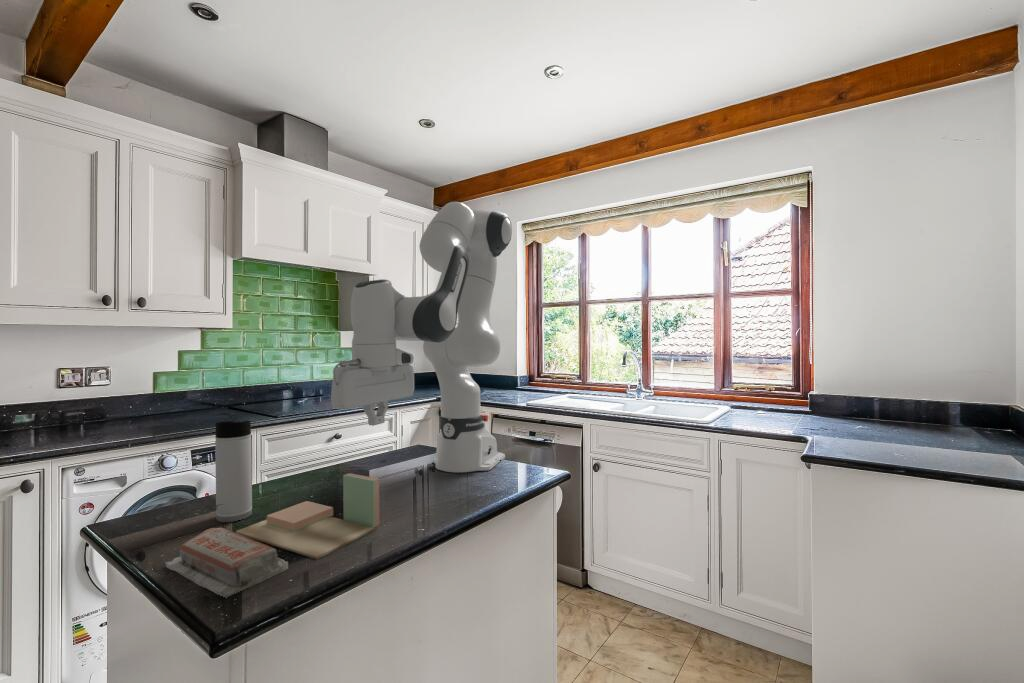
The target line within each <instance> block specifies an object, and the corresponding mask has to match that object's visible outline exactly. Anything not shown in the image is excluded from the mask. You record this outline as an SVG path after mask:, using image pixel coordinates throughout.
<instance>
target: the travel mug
mask: <svg viewBox="0 0 1024 683" xmlns="http://www.w3.org/2000/svg"><path fill="white" fill-rule="evenodd" d="M251 424H252V420H243V421H235V420H222V421H217V422H216V421H215V437H214V439H215V445H214V446H215V448H214V450H215V454H214V455H215V512H216V514H215V518H216V521H217V522H219V523H225V522H226V523H235V522H239V521H238V520H240V521H243V520H245V519H247V518H249V517H250V516H252V514H253V489H252V488H253V487H252V486H253V484H252V483H253V482H252V481H253V479H252V478H253V476H252V471H253V470H252V463H253V462H252V437H251V436H252V431H251V429H252V425H251ZM242 519H243V520H242ZM234 521H235V522H234Z"/></svg>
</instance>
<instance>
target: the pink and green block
mask: <svg viewBox="0 0 1024 683" xmlns="http://www.w3.org/2000/svg"><path fill="white" fill-rule="evenodd" d="M342 479H343V480H342V482H343V483H342V490H343V492H342V495H343V497H342V501H343V505H342V506H343V510H342V511H343V520H345V521H349V522H353V523H357V524H361V525H365V526H369V527H373V528H376V527H378V526H380V478H377V477H371V476H367V475H360V474H355V473H351V472H350V473H346V474H343V475H342Z"/></svg>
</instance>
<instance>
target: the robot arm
mask: <svg viewBox="0 0 1024 683" xmlns="http://www.w3.org/2000/svg"><path fill="white" fill-rule="evenodd" d="M512 232H513V226H512V222H511V220H510V217H509V215H507V213H504V212H501V211H497V210H492V211H489V210H482V209H480V210H479V209H471V208H470V207H469V206H468V205H466V204H465V203H463V202H459V201H450V202H448V203H446V204H445V205H444V206H443V207H442V208H440V209H439V211H438V212H437V213H436V214H435V215H434V216H433V218H432V220H430V222H429V223H428V225H427V227H426V228H425V230H424V232H423V234H422V236H421V239H420V242H419V250H420V252H419V253H420V255H421V257H422V259H423V261H424V262H425V263H426V264H427V265H428V266H429V267H430V268H432V269H433V270H435V271H437V272H439V273H441V274H440V276H439V279H438V282H437V285H436V288H435V290H434V291H432V292H430V293H428V294H426V295H423V296H405V295H403V294H402V293H400V292H399V291H397V290H396V288H394V286H393V283H392V281H391V280H388V279H385V278H384V279H374V280H365V281H361V282H358V283H356V284H355V285H354V287H353V288H352V294H351V299H350V323H351V324H350V325H351V327H352V330H353V335H352V336H353V337H352V340H351V357H352V358H351V359H350V360H340V361H339V362H338V363H337V364H336V365H335V366H334V368H333V370H332V377H333V378H332V381H331V391H330V403H331V406H332V407H333V409H336V410H345V411H346V410H350V409H355V408H360V407H362V409H363V412H364V413H365V415H366V416H367V423H368V425H369V426H373V427H374V426H378V425H382V424H384V423H385V420H386V419H385V415H386V413H387V410H388V409H389V401H393V400H399V399H403V398H408V397H412V395H413V394H414V391H415V371H414V367H413V366H412V365H411V364H413V363H414V355H413V354H412V353H411V352H407V351H405V350H402V349H400V348H397V341H407V342H410V341H411V342H419V341H420V342H421V341H422V342H423V343H422V344H423V345H422V347H423V348H422V349H423V353H424V356H425V357H426V359H427V360H428V361H430V363H431V365H432V366H433V369H434V372H435V374H436V377H437V380H438V383H439V384H438V385H439V389H440V390H439V391H440V416H439V421H438V424H439V430H440V432H439V433H438V434H437V439H436V449H435V450H436V451H435V453H436V454H435V457H434V458H433V461H432V462H433V463H434V464H435V466H434V467H435V469H437V470H440V471H442V472H446V473H447V472H448V473H470V472H478V471H481V472H482V471H491V469H493V468H494V467H495V466H496V465H498V464H499V463H501V461H503V460H504V459H505V458H506V454H505V453H502V452H500V451H498V443H497V439H496V437H495V436H494V435H493V434H492V433H490V432H489V431H488V430H487V428H485V423H486V422H488V421H489V415H488V414H484V413H482V414H481V388H480V385H479V384H478V383H477V382H476V381H475V380H474V379H473V377H472V375H471V374H470V370H469V368H480V367H485V366H488V365H492V364H494V363H495V362H496V361H497V359H498V357H499V356H500V351H501V341H500V339H499V336H498V335H497V333H496V332H495V331H494V330H493V328H492V325H491V317H490V311H491V310H490V309H491V305H492V304H491V303H492V298H493V295H494V294H493V292H494V288H495V285H496V278H497V267H498V265H497V264H498V260H497V257H499V256H501V254H502V252H503V251H505V249H506V248H507V247H508V246H509V244H510V242H511V240H512V234H513V233H512ZM457 322H458V323H457ZM456 324H457V326H456ZM376 407H377V410H376V411H375V409H376ZM484 422H485V423H484ZM495 459H497V460H495ZM499 460H501V461H499Z"/></svg>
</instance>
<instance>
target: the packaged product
mask: <svg viewBox="0 0 1024 683" xmlns="http://www.w3.org/2000/svg"><path fill="white" fill-rule="evenodd" d="M178 553H179V556H177V557H175V558H173V559H172V560H171V561H165V562H164V563H165V567H166V568H167V569H169V570H170V571H174V572H176V573H178V574H179V575H180V576H183V577H184V578H186V579H188V580H190V581H191V582H193V583H194V584H196V585H197V584H198V586H200V587H201V586H202V587H201V588H205V589H207V590H208V591H210V592H213V593H214V594H216V595H218V596H219V595H220V596H219V597H221V596H223V597H222V598H224V597H225V599H228V598H227V597H229V596H231V595H233V594H235V595H237V594H239V593H241V592H240V591H242V590H244V589H246V588H248V589H250V588H251V587H250V586H252V587H254V586H253V585H255V584H257V583H259V582H260V581H263V580H265V579H267V578H268V577H271V576H273V575H275V574H278V573H280V572H282V571H284V570H286V571H288V570H289V561H285V560H284V559H282V558H280V557H278V553H277V549H276V548H274V547H272V546H269V544H266V543H265V544H264V543H263V542H261V541H258V540H255V539H252V538H249V537H246V536H243V535H240V534H237V533H236V532H234V531H231V530H229V529H227V528H225V527H210V528H209V529H206V530H204V531H203V532H201V533H199V534H197V535H195V536H194V537H192V538H190V539H188V540H187V541H185V542H184V543H182V544H181V545H180V547H179V551H178ZM287 569H288V570H287ZM284 572H285V571H284ZM282 573H283V572H282ZM280 574H281V573H280ZM278 575H279V574H278ZM267 580H268V579H267ZM265 581H266V580H265ZM263 582H264V581H263ZM259 584H260V583H259ZM257 585H258V584H257ZM255 586H256V585H255ZM249 587H250V588H249ZM246 590H247V589H246ZM244 591H245V590H244ZM238 592H239V593H238ZM242 592H243V591H242ZM236 593H237V594H236ZM233 596H234V595H233ZM231 597H232V596H231ZM229 598H230V597H229Z"/></svg>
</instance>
